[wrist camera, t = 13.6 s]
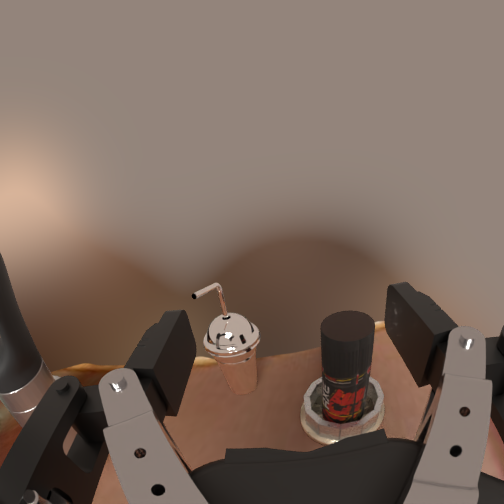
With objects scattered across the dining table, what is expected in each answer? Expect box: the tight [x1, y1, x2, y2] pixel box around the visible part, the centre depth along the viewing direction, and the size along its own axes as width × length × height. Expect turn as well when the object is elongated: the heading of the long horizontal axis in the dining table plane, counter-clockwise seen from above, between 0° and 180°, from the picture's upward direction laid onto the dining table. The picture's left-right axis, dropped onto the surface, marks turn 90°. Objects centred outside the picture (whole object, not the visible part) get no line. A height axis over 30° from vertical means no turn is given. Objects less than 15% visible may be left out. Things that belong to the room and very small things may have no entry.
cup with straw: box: [192, 283, 261, 395], centre depth 39 cm, size 8×9×20 cm
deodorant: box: [321, 311, 375, 424], centre depth 30 cm, size 6×6×15 cm
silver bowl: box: [300, 377, 385, 446], centre depth 32 cm, size 12×12×4 cm
